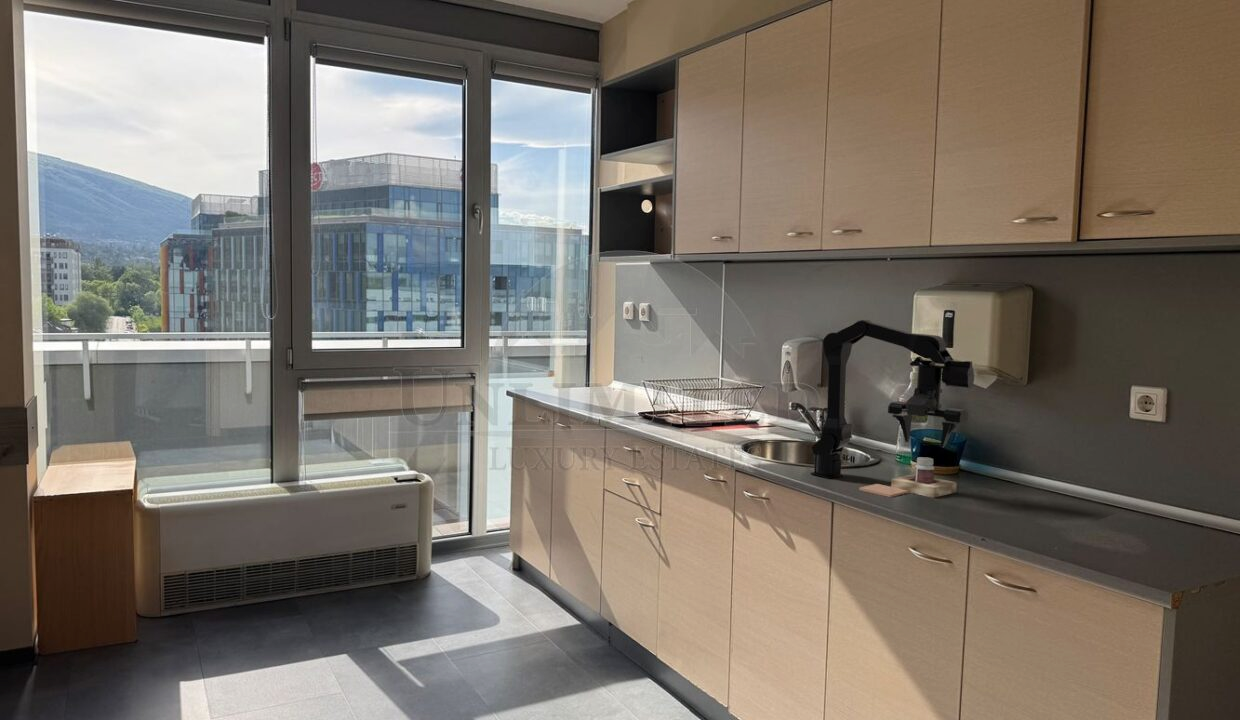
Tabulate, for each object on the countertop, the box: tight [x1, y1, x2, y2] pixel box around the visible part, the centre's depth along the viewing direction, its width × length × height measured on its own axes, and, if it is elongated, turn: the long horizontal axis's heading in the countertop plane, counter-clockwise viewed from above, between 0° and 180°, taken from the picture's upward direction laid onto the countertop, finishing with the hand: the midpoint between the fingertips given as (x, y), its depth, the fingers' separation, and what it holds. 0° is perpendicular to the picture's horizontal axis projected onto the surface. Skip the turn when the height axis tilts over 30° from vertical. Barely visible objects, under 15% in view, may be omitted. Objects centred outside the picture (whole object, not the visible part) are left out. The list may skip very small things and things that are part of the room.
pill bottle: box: [914, 456, 935, 484], centre depth 219 cm, size 5×5×8 cm
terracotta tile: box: [859, 483, 909, 498], centre depth 216 cm, size 9×8×1 cm
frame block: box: [890, 473, 957, 498], centre depth 219 cm, size 12×11×2 cm
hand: (924, 444), depth 216 cm, fingers open, 9 cm apart
